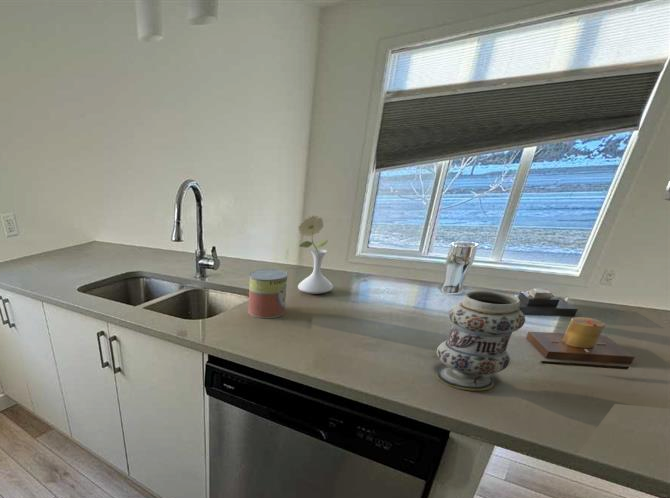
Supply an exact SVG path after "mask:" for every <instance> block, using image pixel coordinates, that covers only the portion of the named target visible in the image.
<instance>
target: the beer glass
mask: <svg viewBox="0 0 670 498" xmlns="http://www.w3.org/2000/svg"><path fill="white" fill-rule="evenodd" d="M478 244H479V243H476V242H473V241H454V242H452V243H451V244H450V246H449V250H448V253H447V256H446V260H445V266H444V277H443V282H442V284H441V286H440V288H439V293H441V294H444V295H448V296H449V295H450V296H458V295H461V294H463V287H464V282H465V280H466V279H467V275H468V274H469V272H470V270H471V268H472V266H473V264H474V261H475V258H476V254H477V248H478Z"/></svg>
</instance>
